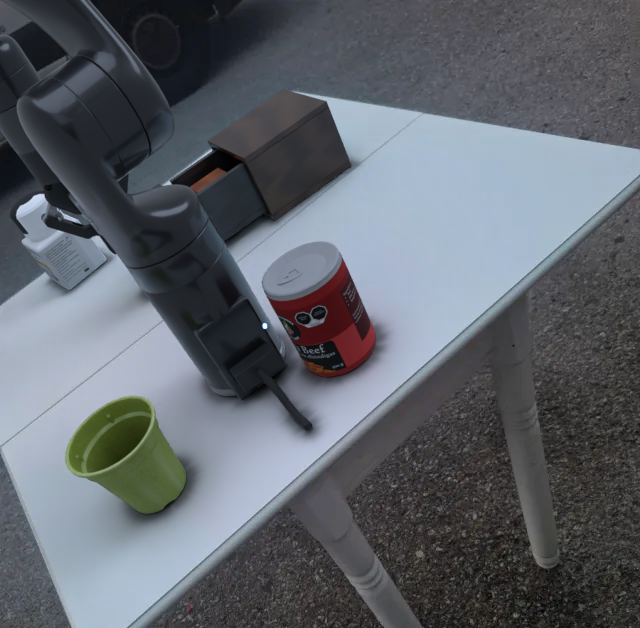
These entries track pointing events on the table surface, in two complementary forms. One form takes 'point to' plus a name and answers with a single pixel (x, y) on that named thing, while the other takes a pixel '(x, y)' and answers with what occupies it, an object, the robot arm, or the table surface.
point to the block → (207, 180)
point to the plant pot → (127, 454)
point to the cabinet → (286, 148)
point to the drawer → (225, 192)
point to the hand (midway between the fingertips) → (123, 251)
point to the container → (55, 243)
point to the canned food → (320, 308)
